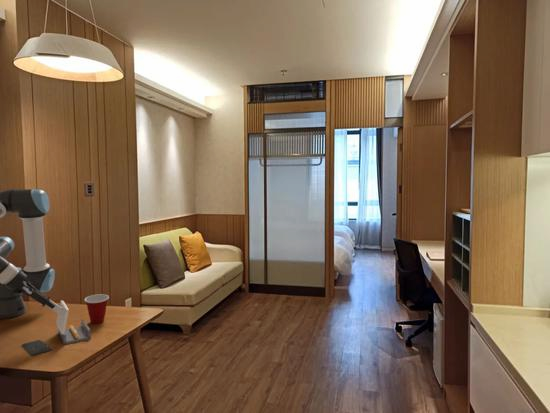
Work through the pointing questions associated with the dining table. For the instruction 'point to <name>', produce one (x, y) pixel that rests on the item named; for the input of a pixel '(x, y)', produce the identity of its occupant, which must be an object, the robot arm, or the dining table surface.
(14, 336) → the dining table surface
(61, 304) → the block
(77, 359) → the dining table surface
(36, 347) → the smartphone
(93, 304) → the plastic cup
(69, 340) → the cable duct
